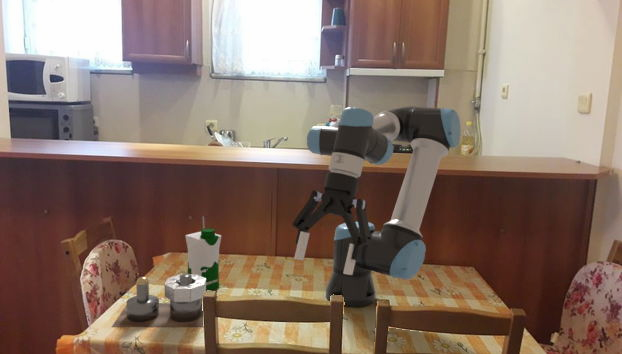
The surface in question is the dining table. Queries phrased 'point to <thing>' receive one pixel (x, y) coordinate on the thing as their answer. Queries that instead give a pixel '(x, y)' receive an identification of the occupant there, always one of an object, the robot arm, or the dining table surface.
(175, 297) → the steel ring
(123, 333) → the dining table surface
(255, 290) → the dining table surface
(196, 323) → the board
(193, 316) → the stand post
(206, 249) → the milk carton
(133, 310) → the hub post
